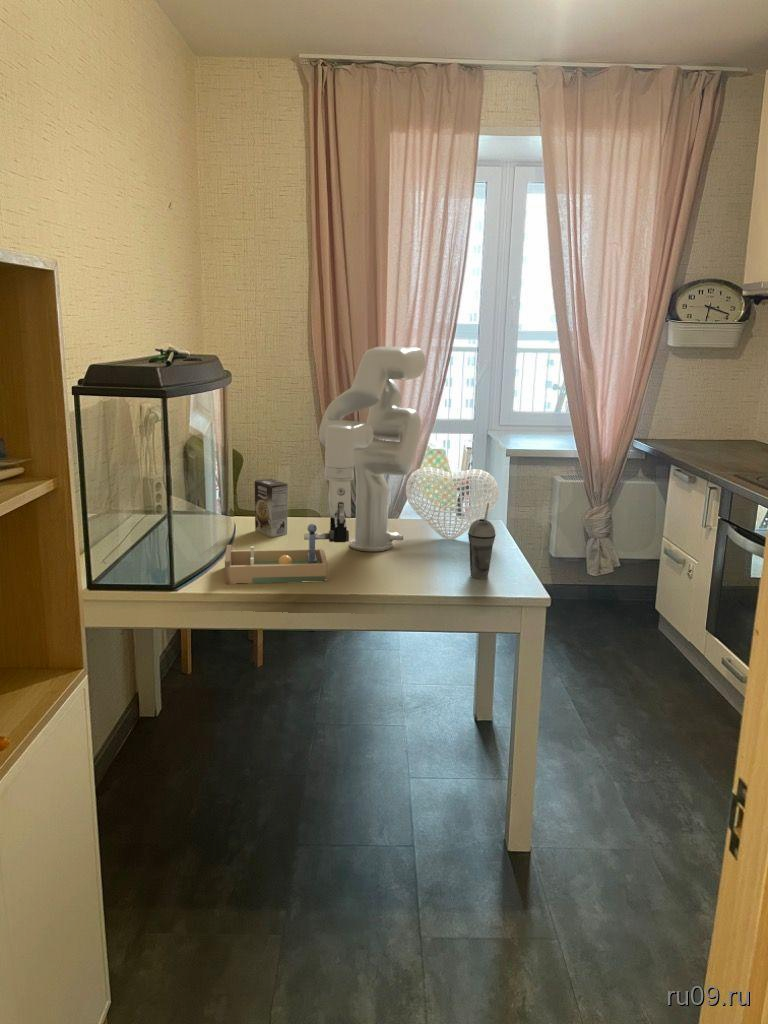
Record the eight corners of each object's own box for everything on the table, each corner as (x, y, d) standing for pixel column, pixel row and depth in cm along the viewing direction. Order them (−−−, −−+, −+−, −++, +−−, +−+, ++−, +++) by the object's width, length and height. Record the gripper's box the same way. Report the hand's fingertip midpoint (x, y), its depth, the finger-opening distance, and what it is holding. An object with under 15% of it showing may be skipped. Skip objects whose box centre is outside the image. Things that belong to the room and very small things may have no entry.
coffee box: (254, 531, 245) (253, 480, 241) (271, 527, 249) (270, 477, 245) (271, 537, 238) (270, 485, 234) (288, 534, 242) (288, 483, 238)
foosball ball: (291, 565, 208) (291, 553, 207) (292, 570, 205) (292, 557, 204) (278, 566, 208) (278, 553, 207) (278, 570, 204) (278, 557, 204)
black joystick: (346, 561, 212) (347, 519, 209) (349, 569, 206) (349, 527, 203) (303, 562, 210) (303, 520, 208) (305, 570, 204) (305, 527, 201)
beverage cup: (464, 571, 213) (468, 499, 208) (491, 572, 212) (496, 500, 207) (466, 580, 206) (470, 506, 201) (494, 581, 205) (499, 507, 200)
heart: (494, 535, 248) (498, 465, 242) (496, 549, 233) (501, 476, 227) (405, 530, 250) (408, 461, 245) (401, 544, 235) (404, 471, 230)
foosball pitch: (323, 564, 215) (323, 543, 214) (327, 581, 202) (328, 559, 200) (227, 566, 211) (226, 544, 210) (225, 584, 198) (224, 561, 196)
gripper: (358, 479, 194) (356, 546, 198) (350, 466, 211) (348, 528, 215) (327, 479, 193) (326, 546, 197) (322, 466, 210) (321, 528, 214)
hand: (338, 537), depth 206 cm, fingers open, 9 cm apart
